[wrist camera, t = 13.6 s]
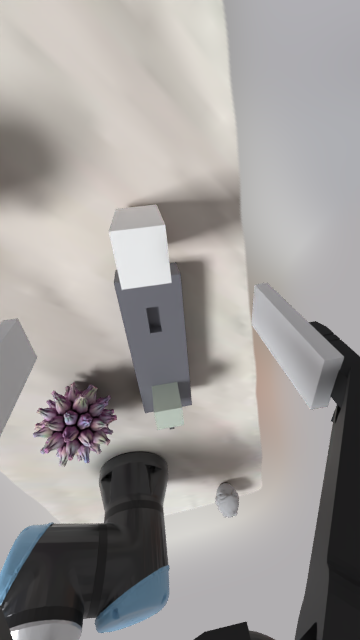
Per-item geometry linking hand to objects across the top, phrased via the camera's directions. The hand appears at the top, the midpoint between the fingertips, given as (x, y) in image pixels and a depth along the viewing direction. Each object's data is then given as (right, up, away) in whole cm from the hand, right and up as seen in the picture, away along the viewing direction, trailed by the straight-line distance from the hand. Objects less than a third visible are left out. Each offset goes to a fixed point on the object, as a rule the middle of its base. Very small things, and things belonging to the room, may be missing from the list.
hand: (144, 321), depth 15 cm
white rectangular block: (-3, +11, +17) cm, 21 cm away
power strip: (-1, -7, +29) cm, 30 cm away
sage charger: (0, -12, +27) cm, 30 cm away
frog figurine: (+13, -44, +55) cm, 72 cm away
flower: (-15, -12, +30) cm, 36 cm away
